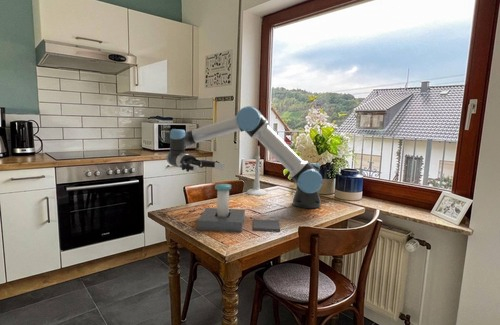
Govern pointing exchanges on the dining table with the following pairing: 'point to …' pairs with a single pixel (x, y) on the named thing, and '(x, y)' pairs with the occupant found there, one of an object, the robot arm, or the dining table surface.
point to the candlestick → (257, 178)
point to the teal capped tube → (222, 199)
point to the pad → (266, 225)
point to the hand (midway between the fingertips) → (211, 168)
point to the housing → (221, 220)
